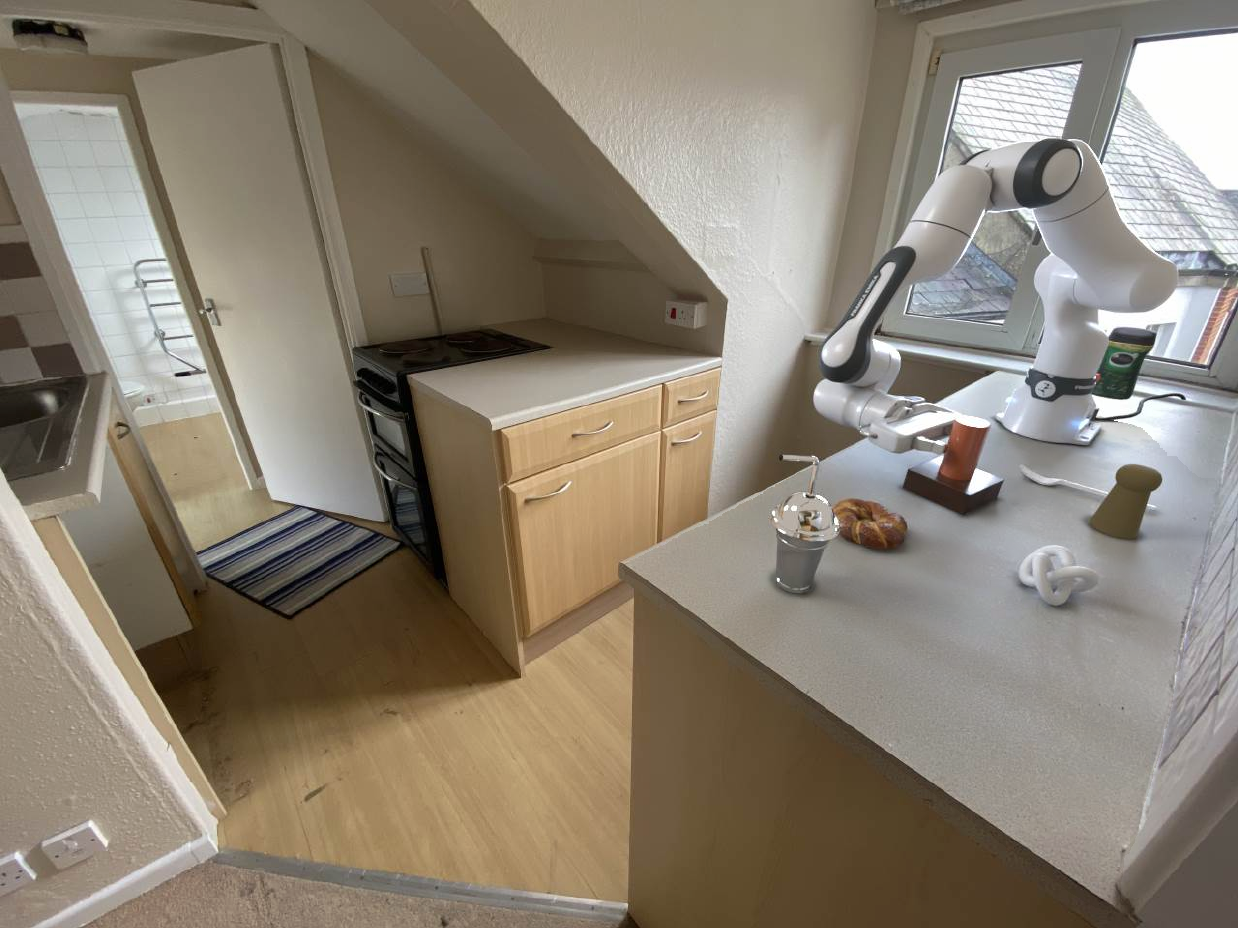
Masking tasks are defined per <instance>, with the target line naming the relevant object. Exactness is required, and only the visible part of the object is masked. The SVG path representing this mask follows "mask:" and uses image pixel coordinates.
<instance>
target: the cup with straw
mask: <svg viewBox="0 0 1238 928" xmlns="http://www.w3.org/2000/svg"><path fill="white" fill-rule="evenodd" d="M778 459H779V461H781V462H804V463H805V462H808V463H810V462H811V463H812V469H811V474H810V480H809V485H808V488H807V490H803V491H797V492H793V493H791V494H789V495H788V496H787V497H786V498H784V500H783V501H782V502H781V503H780V504H778V505H776V506H775V507H774V508H773V510H772V513H771V515H770V520H771V524H772V525H773V526H774V527H775V533H776V536H775V537H776V562H775V563H776V565H775V575H776V577H775V583H776V584H777V586H778V587H779V588H780V589H781V590H783V591H785V592H787V593H791V594H797V595H799V594H806V593H807V592H809V590H810V588H811V584H812V583H813V581H814V578H815V576H816V573H817V570H818V568H819V565H820V562H821V559H822V557H823V555H824V551H825V549H826V548H827V547H828V545H829V543H830V541H831V540H833V539H834V538H836V537H837V536H838V535H839V531H840V523H839V520H838V518H837V517H836V516H835V515H834V511H833V507H832V504H831V503H830V502H829V500H827V499H826V498H825V497H824V496H822V495H821V494H819V493H816V492H815V488H816V485H817V484H816V483H817V478H818V473H819V467H820V459H818V457H817V456H815V455H800V454H799V455H795V454H780V455H779V457H778Z"/></svg>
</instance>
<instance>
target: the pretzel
mask: <svg viewBox="0 0 1238 928" xmlns="http://www.w3.org/2000/svg"><path fill="white" fill-rule="evenodd" d="M832 508H833V511H834V515H835V516H836V517H837V518H838V520H839V523H840V531H839V533H838V535H840V537H841V538H843V539H844V540H846V541H848V542H850V543H855V544H859V545H861V546H863V547H866V548H872V549H887V550H888V549H895V548H897V547H900V546H902V545H903V544H904V542H905V540H906V536H905V533H906V532H907V530H908V524H907V523H908V522H907V521H906V520H905V518H904V517H903V516H902V515H900V514H899V513H897V512H888V508H886V507H885V506H883V505H882V504H880V503H879V502H876V501H870V500H863V499H860V498H859V499H858V498H855V497H854V498H852V497H851V498H845V499H843V500H840V501H839V502H837V503H836V504H835V505H834V506H833V507H832Z"/></svg>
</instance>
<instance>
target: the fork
mask: <svg viewBox="0 0 1238 928" xmlns="http://www.w3.org/2000/svg"><path fill="white" fill-rule="evenodd" d="M1018 469H1019V471H1021V472H1022V473H1023V474H1024V475H1025V476H1026V477H1028V478H1029V479H1031V480H1032V481H1034V482H1035V483H1038V484H1040V485H1043V486H1054V485H1063V486H1066V487H1070V488H1074V489H1077V490H1080V491H1085V492H1089V493H1092V494H1094V495H1095V494H1096V495H1098V496H1102V497H1104V498H1106V497H1107V495H1108V494H1109V493H1110V492H1108V491H1104V490H1101V489H1097V488H1095V487H1090V486H1087V485H1083V484H1080V483H1077V482H1073V481H1069V480H1066V479H1062V478H1055V477H1053V478H1052V477H1047V476H1043V475H1041V474H1038V473H1036V472H1034V471H1032V469H1031V470H1030V469H1029V468H1028V467H1026V466H1025V465H1023V464H1022V463H1020V464H1019V467H1018ZM1146 509H1149V510H1153V511H1157V506H1156V505H1152V504H1149V503H1148V504H1147V507H1146Z"/></svg>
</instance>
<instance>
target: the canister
mask: <svg viewBox="0 0 1238 928" xmlns="http://www.w3.org/2000/svg"><path fill="white" fill-rule="evenodd" d="M991 426H992V424H991V423H990V422H989V421H987V420H986V419H982V418H979V417H974V416H968V415H962V416H959V417H956V418H955V421H954V424H953V427H952V430H951V434H950V437H948V440H947V443H946V444H947V445H948V448H947V451H946V452H945V453H943V455H942V456H943V459H942V462H941V465H940V468H939V472H940V473H941V474H942V475H944V476H946V477H948V478H951V479H954V480H960V481H968V480H971V479H972V478H973V475H974V472H975V469H977V466H978V463H979V461H980V458H981V455H982V453H983V449H984V446H985V444H986V440H987V438H988V435H989V433H990V430H991Z"/></svg>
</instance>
